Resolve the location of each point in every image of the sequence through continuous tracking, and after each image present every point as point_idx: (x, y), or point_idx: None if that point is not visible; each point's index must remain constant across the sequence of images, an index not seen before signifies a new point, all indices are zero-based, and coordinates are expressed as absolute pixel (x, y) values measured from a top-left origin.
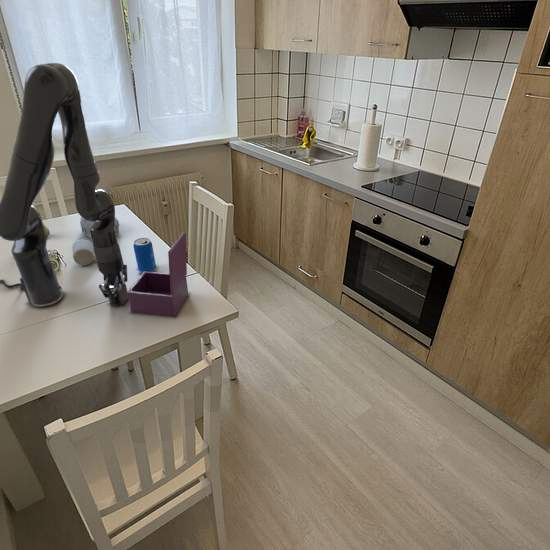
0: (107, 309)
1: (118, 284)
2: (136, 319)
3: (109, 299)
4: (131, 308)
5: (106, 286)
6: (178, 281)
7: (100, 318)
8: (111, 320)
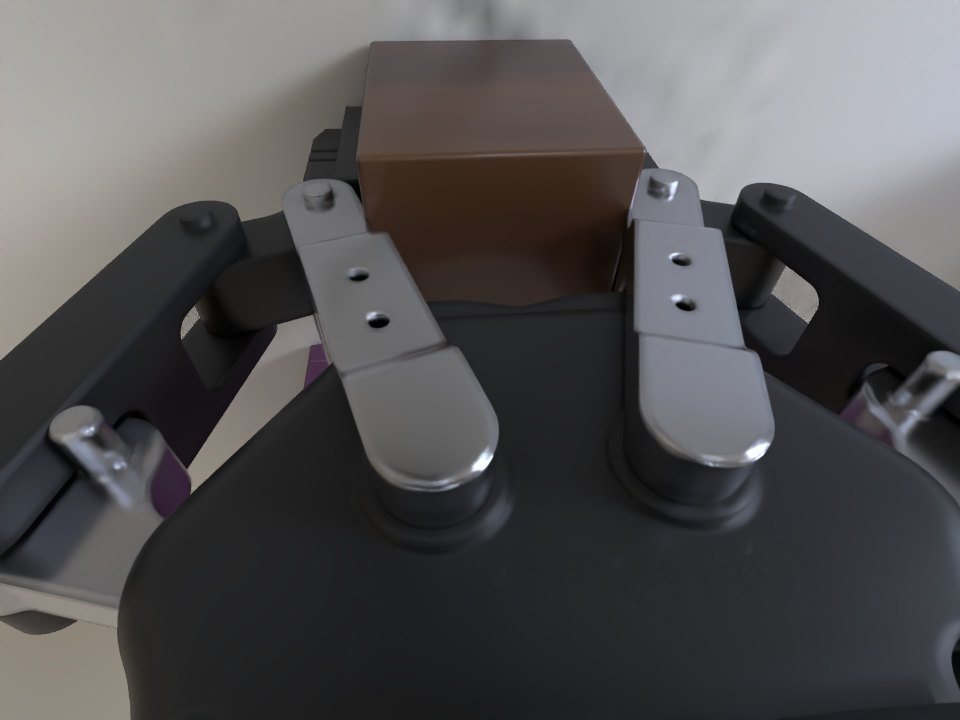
0: (239, 69)
1: (589, 265)
2: (242, 407)
3: (367, 77)
4: (304, 387)
5: (15, 619)
6: None
7: (15, 80)
8: (90, 237)
